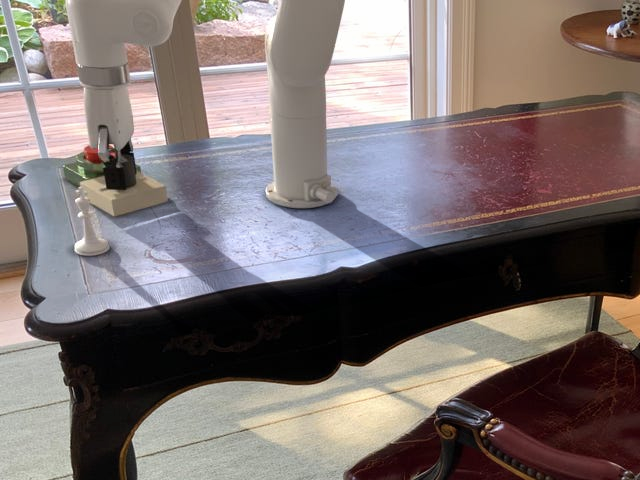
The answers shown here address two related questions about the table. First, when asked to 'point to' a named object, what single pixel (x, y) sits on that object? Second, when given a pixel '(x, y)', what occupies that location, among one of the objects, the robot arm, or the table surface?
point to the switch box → (85, 170)
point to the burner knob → (128, 169)
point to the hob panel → (125, 195)
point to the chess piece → (88, 229)
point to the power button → (93, 153)
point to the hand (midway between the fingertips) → (122, 180)
